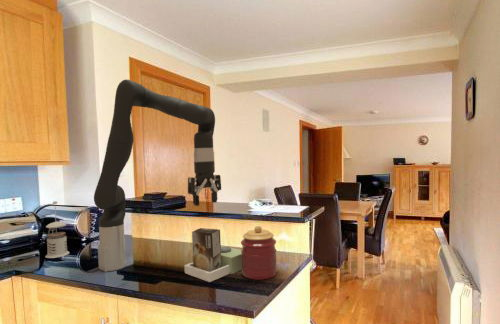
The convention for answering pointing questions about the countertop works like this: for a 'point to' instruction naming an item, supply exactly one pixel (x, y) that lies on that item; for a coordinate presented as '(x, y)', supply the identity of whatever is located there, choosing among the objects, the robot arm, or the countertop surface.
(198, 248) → the coffee box
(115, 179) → the robot arm
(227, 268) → the dome button panel
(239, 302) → the countertop surface
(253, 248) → the canister
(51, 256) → the french press
